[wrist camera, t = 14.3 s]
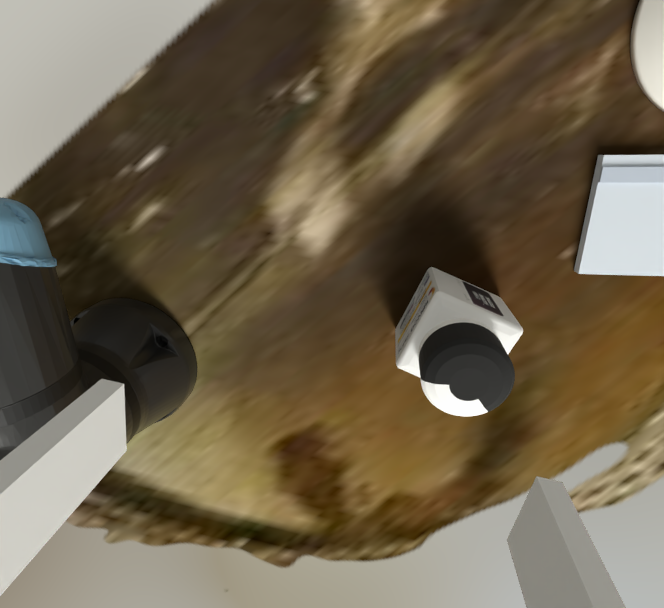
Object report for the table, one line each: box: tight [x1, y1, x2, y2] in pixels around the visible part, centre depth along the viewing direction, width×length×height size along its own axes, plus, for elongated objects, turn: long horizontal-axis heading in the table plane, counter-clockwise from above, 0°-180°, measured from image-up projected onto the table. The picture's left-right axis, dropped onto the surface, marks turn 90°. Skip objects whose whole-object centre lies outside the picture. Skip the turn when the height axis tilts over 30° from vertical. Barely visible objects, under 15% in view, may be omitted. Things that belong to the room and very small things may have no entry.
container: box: [395, 267, 523, 416], centre depth 35 cm, size 8×8×13 cm
